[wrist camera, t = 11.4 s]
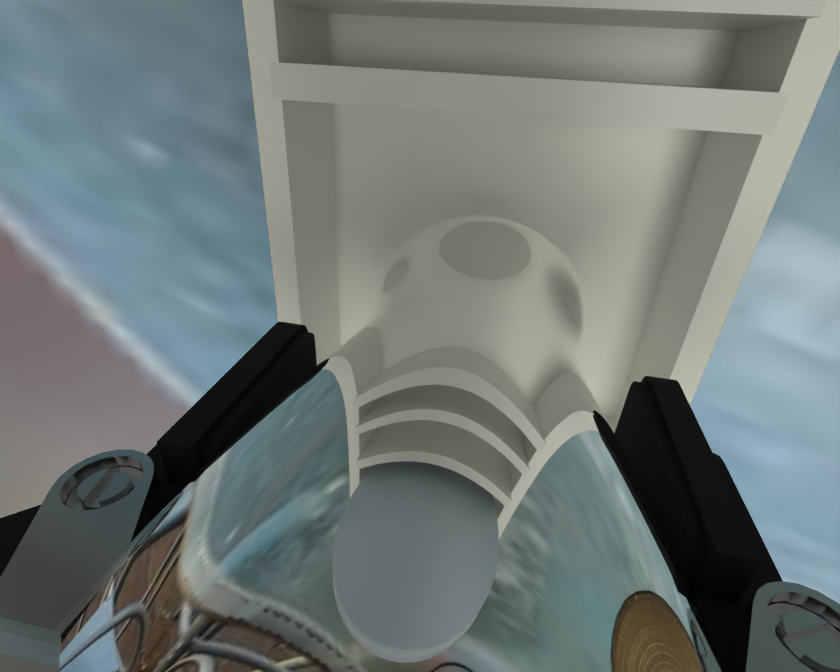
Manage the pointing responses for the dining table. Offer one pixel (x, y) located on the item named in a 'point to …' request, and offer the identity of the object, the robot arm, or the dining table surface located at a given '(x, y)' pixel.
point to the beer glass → (414, 502)
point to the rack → (537, 151)
